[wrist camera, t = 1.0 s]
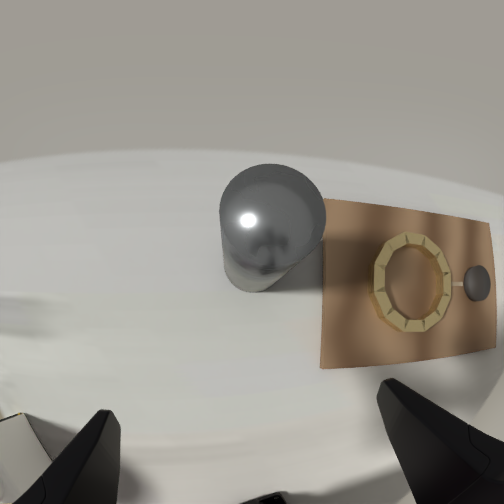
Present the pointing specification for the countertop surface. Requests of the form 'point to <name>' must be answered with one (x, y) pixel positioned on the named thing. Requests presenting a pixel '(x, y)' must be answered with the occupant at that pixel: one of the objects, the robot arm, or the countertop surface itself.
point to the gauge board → (403, 286)
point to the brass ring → (378, 283)
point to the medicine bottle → (19, 457)
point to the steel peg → (268, 224)
